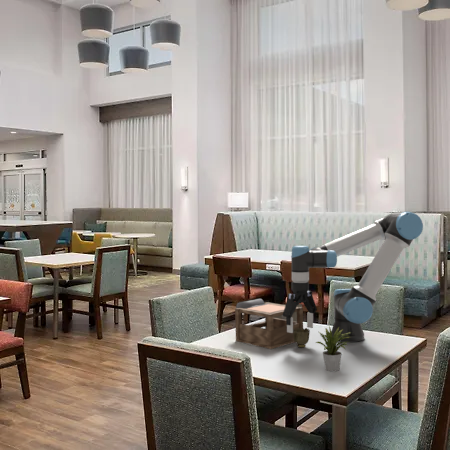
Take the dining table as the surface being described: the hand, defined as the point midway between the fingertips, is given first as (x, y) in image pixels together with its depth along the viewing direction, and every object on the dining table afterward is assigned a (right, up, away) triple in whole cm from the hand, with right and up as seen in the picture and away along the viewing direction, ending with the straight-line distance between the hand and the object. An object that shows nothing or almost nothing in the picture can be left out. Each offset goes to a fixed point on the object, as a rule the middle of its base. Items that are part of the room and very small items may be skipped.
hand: (300, 330), depth 243 cm
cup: (+1, -8, 0) cm, 8 cm away
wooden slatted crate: (-12, -8, +14) cm, 20 cm away
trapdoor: (-15, +5, +16) cm, 23 cm away
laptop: (-3, -7, +41) cm, 42 cm away
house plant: (+8, -9, -34) cm, 36 cm away
